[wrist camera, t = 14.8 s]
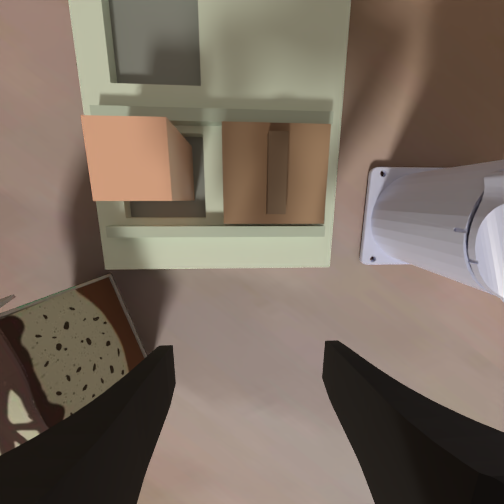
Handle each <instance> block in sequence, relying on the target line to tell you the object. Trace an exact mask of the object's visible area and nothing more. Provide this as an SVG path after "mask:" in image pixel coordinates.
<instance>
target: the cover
mask: <svg viewBox="0 0 504 504" xmlns="http://www.w3.org/2000/svg"><path fill="white" fill-rule="evenodd" d="M330 132H331V124H314V123H272V122H229V121H222V164H223V211H224V224H324V216H325V202H326V188H327V174H328V160H329V146H330Z"/></svg>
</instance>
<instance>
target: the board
mask: <svg viewBox="0 0 504 504" xmlns="http://www.w3.org/2000/svg"><path fill="white" fill-rule="evenodd" d="M68 2H69V10H70V17H71V24H72V31H73V39H74V46H75V53H76V61H77V68H78V75H79V82H80V90H81V97H82V104H83V111H84V115H99V116H151V117H167V118H168V120H169V121H170V122H171V123H172V124H173V125H174V126H175V128H176V129H177V130H178V131H179V132H180V133H181V134H182V136H183V137H184V138H185V139H186V140H187V141H188V142H189V144H190V145H191V146H192V157H193V176H194V195H195V200H194V201H96V206H97V213H98V221H99V228H100V235H101V242H102V250H103V257H104V264H105V270H116V269H205V268H295V267H330V256H331V244H332V231H333V219H334V207H335V194H336V182H337V169H338V157H339V144H340V132H341V119H342V107H343V95H344V82H345V70H346V57H347V45H348V32H349V20H350V8H351V0H68ZM222 121H229V122H272V123H314V124H331V132H330V146H329V160H328V174H327V188H326V202H325V216H324V224H224V211H223V164H222Z"/></svg>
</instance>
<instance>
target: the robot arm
mask: <svg viewBox="0 0 504 504" xmlns="http://www.w3.org/2000/svg"><path fill="white" fill-rule="evenodd" d="M381 171H383V172H384V175H383V176H382V177H381V175H380V173H381ZM372 256H373V260H372V261H370V258H371V257H372ZM360 261H361V262H362V263H363V264H366V265H372V264H412V265H415V266H417V267H420V268H423V269H425V270H428V271H431V272H433V273H436V274H439V275H441V276H444V277H447V278H449V279H452V280H455V281H458V282H460V283H463V284H466V285H468V286H471V287H474V288H476V289H479V290H482V291H484V292H487V293H490V294H492V295H495V296H497V297H499V298H500V299H501V300H502V301H503V302H504V160H497V161H491V162H484V163H477V164H471V165H464V166H458V167H451V168H425V167H375V168H372V169H371V170H370V172H369V177H368V186H367V195H366V205H365V214H364V223H363V232H362V242H361V251H360ZM322 378H323V382H324V385H325V388H326V391H327V393H328V396H329V399H330V401H331V404H332V406H333V408H334V410H335V412H336V414H337V416H338V419H339V421H340V423H341V425H342V427H343V429H344V431H345V433H346V435H347V437H348V439H349V441H350V444H351V446H352V448H353V450H354V452H355V454H356V456H357V459H358V461H359V463H360V466H361V468H362V471H363V473H364V476H365V478H366V481H367V484H368V486H369V489H370V492H371V494H372V497H373V500H374V502H375V504H504V432H501V431H499V430H496V429H494V428H491V427H489V426H487V425H484V424H482V423H479V422H477V421H475V420H472V419H470V418H468V417H465V416H463V415H461V414H459V413H457V412H455V411H453V410H450V409H448V408H446V407H444V406H442V405H440V404H438V403H436V402H434V401H432V400H430V399H428V398H426V397H424V396H423V395H421V394H419V393H417V392H415V391H414V390H412V389H410V388H408V387H407V386H405V385H403V384H401V383H400V382H398V381H397V380H395V379H393V378H392V377H390V376H389V375H387V374H386V373H384V372H383V371H381V370H379V369H378V368H377V367H375V366H374V365H372V364H371V363H369V362H368V361H366V360H365V359H364V358H362V357H361V356H359V355H358V354H357V353H355V352H354V351H352V350H351V349H350V348H348V347H347V346H345V345H344V344H342V343H341V342H339V341H325V350H324V363H323V375H322ZM175 384H176V382H175V369H174V356H173V345H167V346H158V347H157V348H156V349H155V350H154V351H152V352H151V353H150V354H149V355H148V356H147V357H146V358H145V359H143V360H142V361H141V362H140V363H139V364H138V365H137V366H135V367H134V368H133V369H132V370H131V371H130V372H129V373H127V374H126V375H125V376H124V377H122V378H121V379H120V380H119V381H117V382H116V383H115V384H114V385H112V386H111V387H110V388H109V389H107V390H106V391H105V392H104V393H102V394H101V395H99V396H98V397H97V398H95V399H94V400H93V401H91V402H90V403H88V404H87V405H85V406H84V407H82V408H81V409H79V410H78V411H76V412H75V413H73V414H72V415H70V416H69V417H67V418H65V419H64V420H62V421H60V422H59V423H57V424H56V425H54V426H52V427H51V428H49V429H47V430H46V431H44V432H42V433H41V434H39V435H37V436H36V437H34V438H32V439H30V440H28V441H27V442H25V443H23V444H21V445H19V446H17V447H16V448H14V449H12V450H10V451H8V452H6V453H4V454H2V455H0V504H137V501H138V497H139V494H140V490H141V487H142V483H143V480H144V477H145V474H146V471H147V468H148V465H149V462H150V459H151V457H152V454H153V451H154V448H155V446H156V443H157V440H158V438H159V435H160V432H161V430H162V427H163V424H164V421H165V419H166V416H167V413H168V410H169V408H170V404H171V400H172V396H173V392H174V388H175Z"/></svg>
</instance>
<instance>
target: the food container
mask: <svg viewBox="0 0 504 504" xmlns="http://www.w3.org/2000/svg"><path fill="white" fill-rule="evenodd" d="M13 298H15V296H14V295H10V296H8V297H5V298H2V299H0V308H1V307H2V306H4V305H5V304H6V303H8V302H9V301H11V300H12V299H13ZM146 357H147V355H146V353H145V350H144V348H143V346H142V344H141V341H140V339H139V337H138V334H137V332H136V330H135V328H134V325H133V323H132V321H131V318H130V316H129V314H128V311H127V309H126V307H125V305H124V302H123V300H122V298H121V295H120V293H119V291H118V289H117V286H116V284H115V282H114V279H113V277H112V275H111V273H110V274H107V275H104V276H101V277H99V278H96V279H93V280H90V281H88V282H85V283H82V284H79V285H77V286H74V287H71V288H68V289H66V290H63V291H60V292H58V293H55V294H52V295H49V296H47V297H44V298H41V299H38V300H36V301H33V302H30V303H27V304H25V305H22V306H19V307H16V308H14V309H11V310H8V311H6V312H3V313H0V455H2V454H4V453H6V452H8V451H10V450H12V449H14V448H16V447H17V446H19V445H21V444H23V443H25V442H27V441H28V440H30V439H32V438H34V437H36V436H37V435H39V434H41V433H42V432H44V431H46V430H47V429H49V428H51V427H52V426H54V425H56V424H57V423H59V422H60V421H62V420H64V419H65V418H67V417H69V416H70V415H72V414H73V413H75V412H76V411H78V410H79V409H81V408H82V407H84V406H85V405H87V404H88V403H90V402H91V401H93V400H94V399H95V398H97V397H98V396H99V395H101V394H102V393H104V392H105V391H106V390H107V389H109V388H110V387H111V386H112V385H114V384H115V383H116V382H117V381H119V380H120V379H121V378H122V377H124V376H125V375H126V374H127V373H129V372H130V371H131V370H132V369H133V368H134V367H135V366H137V365H138V364H139V363H140V362H141V361H142V360H143V359H145V358H146Z"/></svg>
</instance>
